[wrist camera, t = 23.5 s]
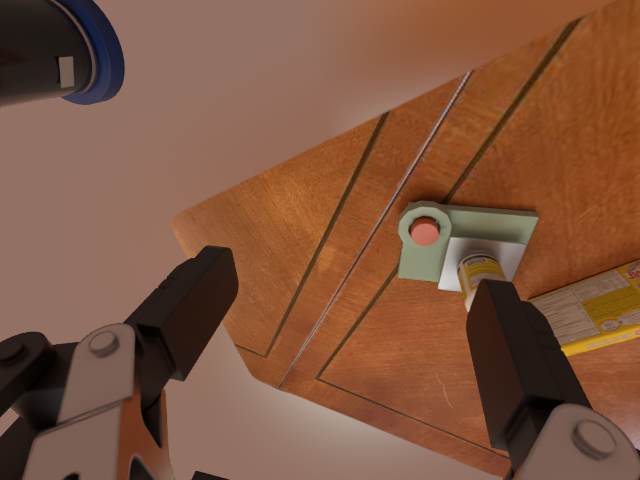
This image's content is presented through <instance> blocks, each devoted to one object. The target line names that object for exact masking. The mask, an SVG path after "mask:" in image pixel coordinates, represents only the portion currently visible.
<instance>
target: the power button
mask: <svg viewBox="0 0 640 480" xmlns="http://www.w3.org/2000/svg"><path fill="white" fill-rule="evenodd" d="M411 237H412V240H413V241H414V242H415V243H416V244H418V245H422V246H427V245H431V244H433V243H434V242H435V241H436V240H437V239H438V237H439V231H438V226H437V223H436V222H435V221H434V220H433V219H431V218H428V217H422V218H418V219H417V220H415V221H414V222H413V223H412V225H411Z"/></svg>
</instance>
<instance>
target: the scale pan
mask: <svg viewBox="0 0 640 480" xmlns="http://www.w3.org/2000/svg"><path fill="white" fill-rule="evenodd" d="M526 245H527V244H526V243H520V242H509V241H499V240H488V239H478V238H468V237H457V236H450V240H449V243H448V247H447V251H446V255H445V259H444V263H443V267H442V271H441V275H440V279H439V282H438V286H437V289H444V290H452V291H459V292H462V291H461V287H460V283H459V279H458V275H457V268H458V265H459V263H460V262H461V261H462V260H463V259H464V258H466V257H467V256H470V255H473V254H487V255H490V256H493V257H494V258H495V259H497V261H498V262H499V264H500V266H501V268H502V270H503V272H504V275H505V277H506V279H507V281H509V282H511V281H512V278H513V276H514V273H515V271H516V269H517V266H518V264H519V262H520V259H521V257H522V255H523V252H524V250H525V248H526Z"/></svg>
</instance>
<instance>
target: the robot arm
mask: <svg viewBox="0 0 640 480" xmlns="http://www.w3.org/2000/svg"><path fill="white" fill-rule="evenodd" d="M98 77H99V58H98V54H97V50H96V47H95V45H94V42H93V40H92V38H91V36H90V34H89V32H88V30H87V29H86V27H85V26H84V24H83V23H82V21H81V20H80V19H79V17H78V16H77V15H76V14H75V13H74V12H73V11H72V10H71V9H70V8H69V7H68V6H66V5H65V4H64V3H63V2H61V1H59V0H0V108H2V107H7V106H12V105H18V104H22V103H28V102H33V101H39V100H44V99H49V98H55V97H61V96H66V95H76V94H82V93H86V92H88V91H90V90H91V89H93V87H94V86H95V85H96V83H97V81H98ZM238 287H239V283H238V277H237V273H236V268H235V263H234V259H233V254H232V251H231V249H230V248H227V247H218V246H209V245H208V246H205V247H204V248H203V249H202V250H201V251H200V253H199V254H198V255H197V256H196V257H195V258H190V259H189V260H187V261H185V262H184V263H182V264H180V265H179V266H177V267H176V268H175V269H174V270H173V271H172V272H171V273H170V274H169V276H167V279H165V280H164V281H163V282H162V283H161V284H160V285H159V286H158V288H156V289H155V290H154V291H153V292H152V293H151V294H150V295H149V296H148V297H147V298H146V299H145V300H144V302H143V303H142V304H141V305H140V306H139V307H138V308H137V309H136V310H135V311H134V312H133V313H132V314H131V315H130V316H129V317H128V318H127V319H126V320H125V321H124V322H123V323H116V324H110V325H107V326H104V327H101V328H99V329H97V330H95V331H93V332H91V333H90V334H89V335H87V336H86V337H85V338H83V339H82V340H81V341H80V342H74V343H65V344H56V345H51V343H50V342H49V341H48V339H47V338H46V337H45V336H44V334H42V333H40V332H26V333H21V334H18V335H15V336H12V337H10V338H8V339H6V340H4V341H2V342H0V417H1V416H2V415H3V414H4V413H5V412H6V411H7V410H8V409H9V408H10V407H11V408H12V409H13V410H14V411H15V412H16V413H17V414H18V415H19V418H18V419H17V420H16V421H15V422H14V423H13V424H12V425H11V426H10V427H9V428H8V429H7V430H6V432H5V433H4V434H3V435H2V436H1V437H0V480H175V477H174V472H173V469H172V465H171V462H170V457H169V449H168V430H167V411H166V393H165V390H164V386H165V385H166V383H167V382H168V380H169V379H175V380H179V381H185V379H186V378H187V376H188V374H189V373H190V371H191V369H192V368H193V366H194V365H195V363H196V361H197V360H198V358H199V356H200V355H201V353H202V352H203V350H204V349H205V347H206V345H207V344H208V342H209V340H210V339H211V337H212V336H213V334H214V332H215V331H216V329H217V328H218V326H219V324H220V323H221V321H222V320H223V318H224V316H225V315H226V313H227V311H228V310H229V308H230V307H231V305H232V303H233V302H234V300H235V298H236V296H237V293H238ZM466 331H467V338H468V342H469V347H470V351H471V356H472V361H473V365H474V370H475V374H476V379H477V384H478V388H479V393H480V397H481V402H482V407H483V411H484V416H485V421H486V425H487V430H488V434H489V439H490V444H491V448H496V449H501V450H505V451H508V453H509V457H510V461H511V465H512V466H511V467H510V468H509V470H508V471H507V473H506V475H505V477H504V478H503V480H640V450H638V449H636V448H635V446H634V445H633V443H632V442H631V441H630V439H629V438H628V437H627V436H626V434H625V433H624V432H623V431H622V430H621V429H620V428H619V427H618V426H617V425H615V424H614V423H613V422H612V421H611V420H609V419H608V418H606V417H605V416H603V415H602V414H600V413H598V412H596V411H594V410H593V408H592V407H591V405H590V403H589V401H588V399H587V397H586V395H585V393H584V391H583V389H582V387H581V385H580V383H579V381H578V379H577V377H576V375H575V373H574V371H573V369H572V367H571V365H570V363H569V361H568V359H567V357H566V355H565V354H564V352H563V351H562V350H561V346H560V344H559V342H558V340H557V338H556V337H555V336H554V332H553V330H552V328H551V326H550V324H549V322H548V320H547V318H546V317H545V316H544V315H543V314H542V313H541V312H540V311H539V310H538V309H537V308H536V307H535V306H534V305H533V304H532V303H531V302H526V301H521V300H520V298H519V296H518V293H517V291H516V289H515V287H514V285H513V283H512V282H509V281H501V280H492V279H484V278H483V279H481V280H480V282H479V284H478V287H477V290H476V293H475V296H474V298H473V301H472V304H471V307H470V310H469V313H468V316H467V323H466ZM192 480H229V479H225V478H221V477H218V476H214V475H210V474H206V473H202V472H199V471H195V473H194V476H193V478H192Z"/></svg>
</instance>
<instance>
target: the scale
mask: <svg viewBox="0 0 640 480" xmlns="http://www.w3.org/2000/svg"><path fill="white" fill-rule="evenodd" d="M422 217H428V218H431V219H433V220H434V221H435V222H436V223H437V226H438V231H439V237H438V239H437V240H436V241H435V242H434V243H433V244H431V245H427V246H422V245H418V244H416V243H415V242H414V241H413V240H412V237H411V225H412V223H413V222H414V221H415V220H417V219H418V218H422ZM538 218H539V217H538V215H537V214H536V213H535V212H534V211H521V210H508V209H496V208H483V207H470V206H458V205H445V204H438V203H436V202H434V201H418V202H408V206H407V207H406V208H405V209H404V210H403V212H402V213H401V214H400V215H399V221H398V234H399V236H400V238H401V240H402V247H401V253H400V260H399V266H398V277H399V278H407V279H416V280H424V281H432V282H439V279H440V275H441V271H442V267H443V263H444V259H445V255H446V251H447V247H448V243H449V240H450V236H457V237H468V238H478V239H488V240H499V241H509V242H520V243H526V244H528V242H529V239H530V237H531V235H532V232H533V230H534V228H535V225H536V223H537V221H538ZM526 246H527V245H526ZM525 249H526V248H525ZM524 251H525V250H524ZM523 253H524V252H523ZM522 256H523V255H522ZM521 258H522V257H521ZM520 260H521V259H520ZM519 263H520V262H519ZM518 265H519V264H518ZM517 267H518V266H517ZM516 270H517V269H516ZM515 272H516V271H515ZM514 274H515V273H514ZM513 277H514V276H513ZM512 279H513V278H512ZM511 282H512V281H511Z"/></svg>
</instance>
